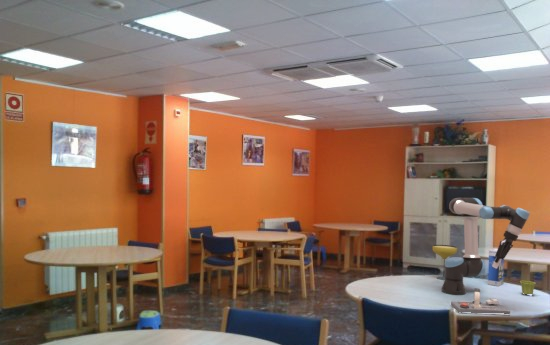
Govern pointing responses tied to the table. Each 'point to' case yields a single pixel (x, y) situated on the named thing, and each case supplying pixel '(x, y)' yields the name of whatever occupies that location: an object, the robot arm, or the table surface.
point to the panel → (485, 308)
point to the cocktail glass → (444, 254)
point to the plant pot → (527, 287)
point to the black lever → (474, 294)
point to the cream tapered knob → (477, 300)
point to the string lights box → (495, 270)
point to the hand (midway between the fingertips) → (494, 267)
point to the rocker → (492, 301)
